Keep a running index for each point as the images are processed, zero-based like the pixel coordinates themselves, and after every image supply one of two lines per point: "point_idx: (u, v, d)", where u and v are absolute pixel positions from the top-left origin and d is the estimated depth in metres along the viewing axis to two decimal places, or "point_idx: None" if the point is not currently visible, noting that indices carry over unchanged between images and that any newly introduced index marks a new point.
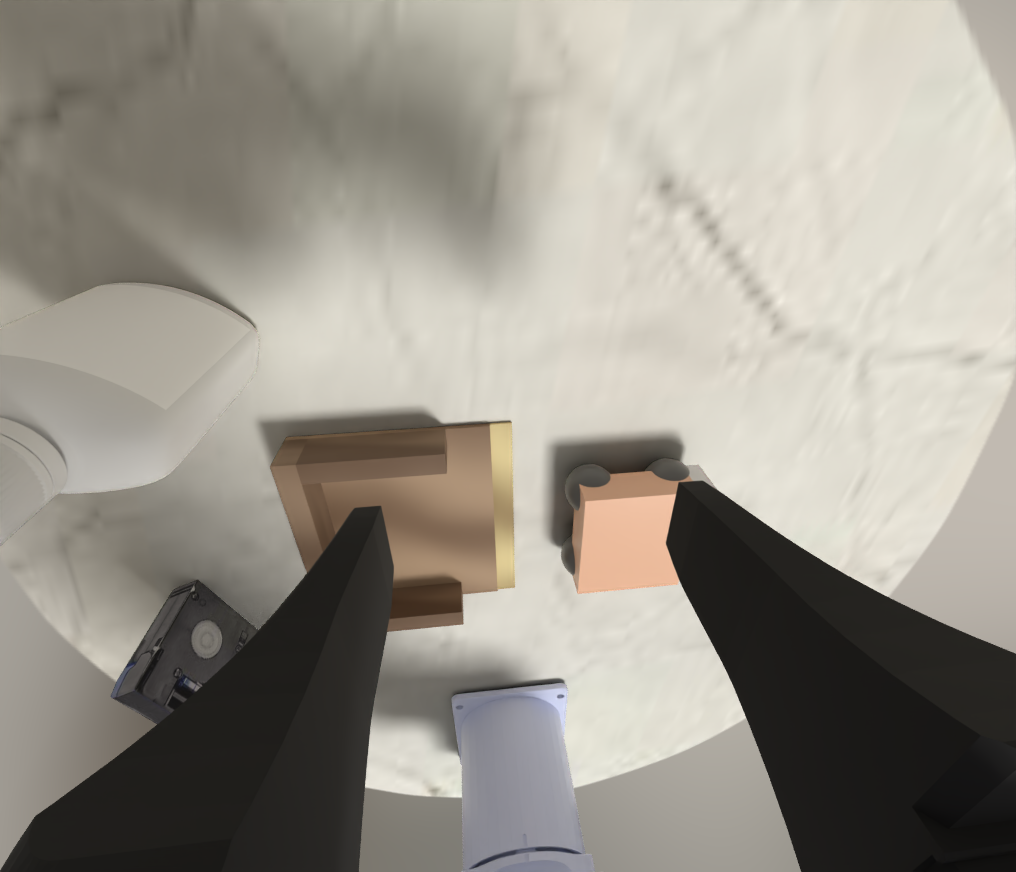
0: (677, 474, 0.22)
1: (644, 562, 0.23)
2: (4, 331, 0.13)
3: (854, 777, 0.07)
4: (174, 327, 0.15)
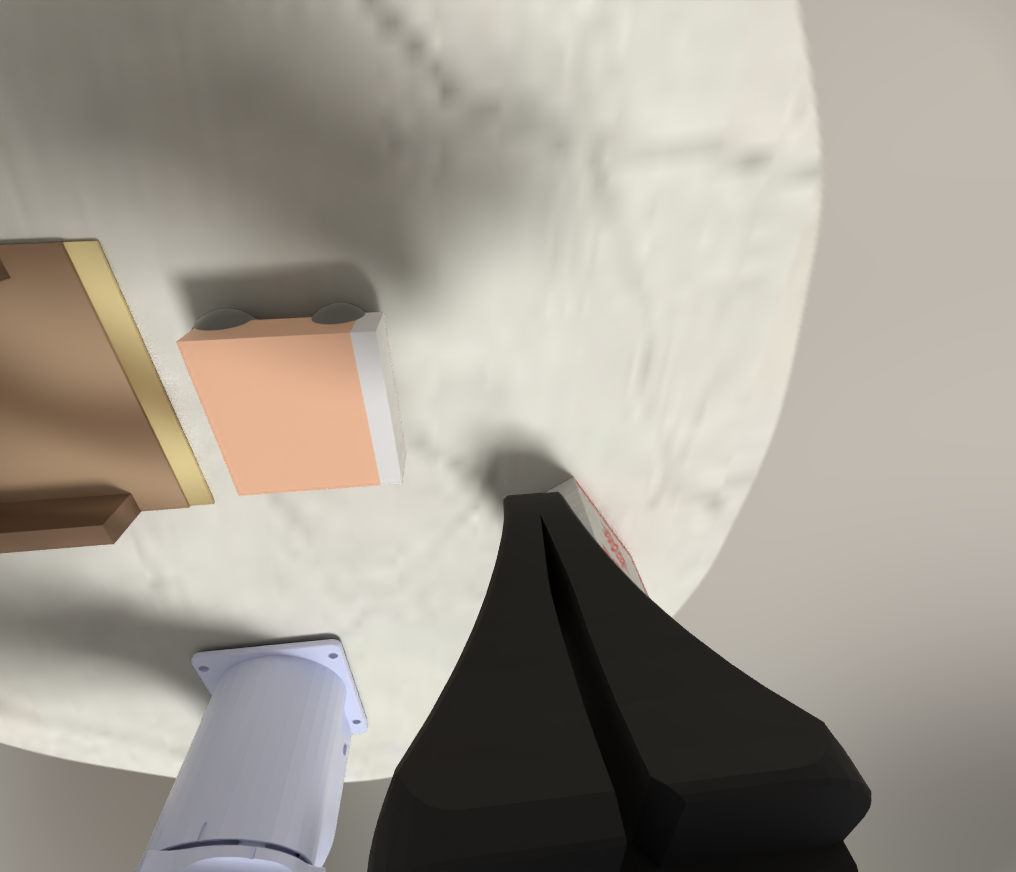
0: (336, 316, 0.16)
1: (315, 448, 0.17)
2: None
3: None
4: None
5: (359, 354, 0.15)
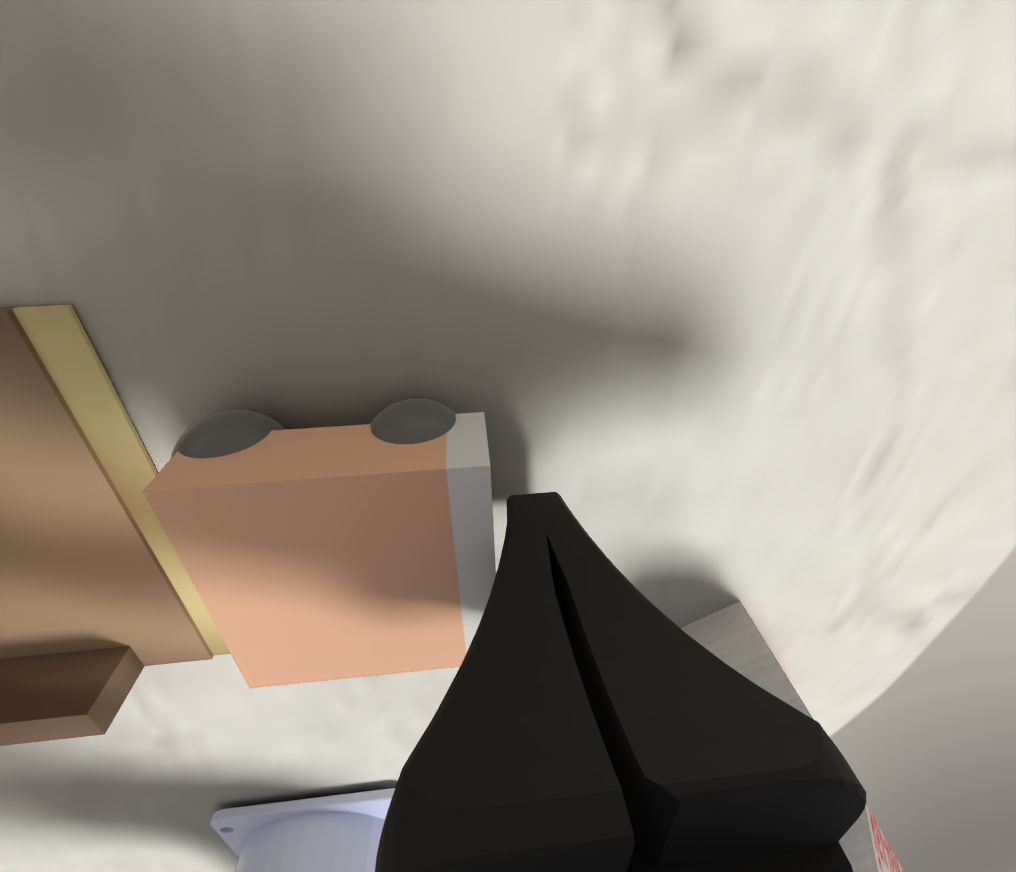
0: (414, 429, 0.09)
1: (372, 626, 0.11)
2: None
3: None
4: None
5: (457, 500, 0.09)
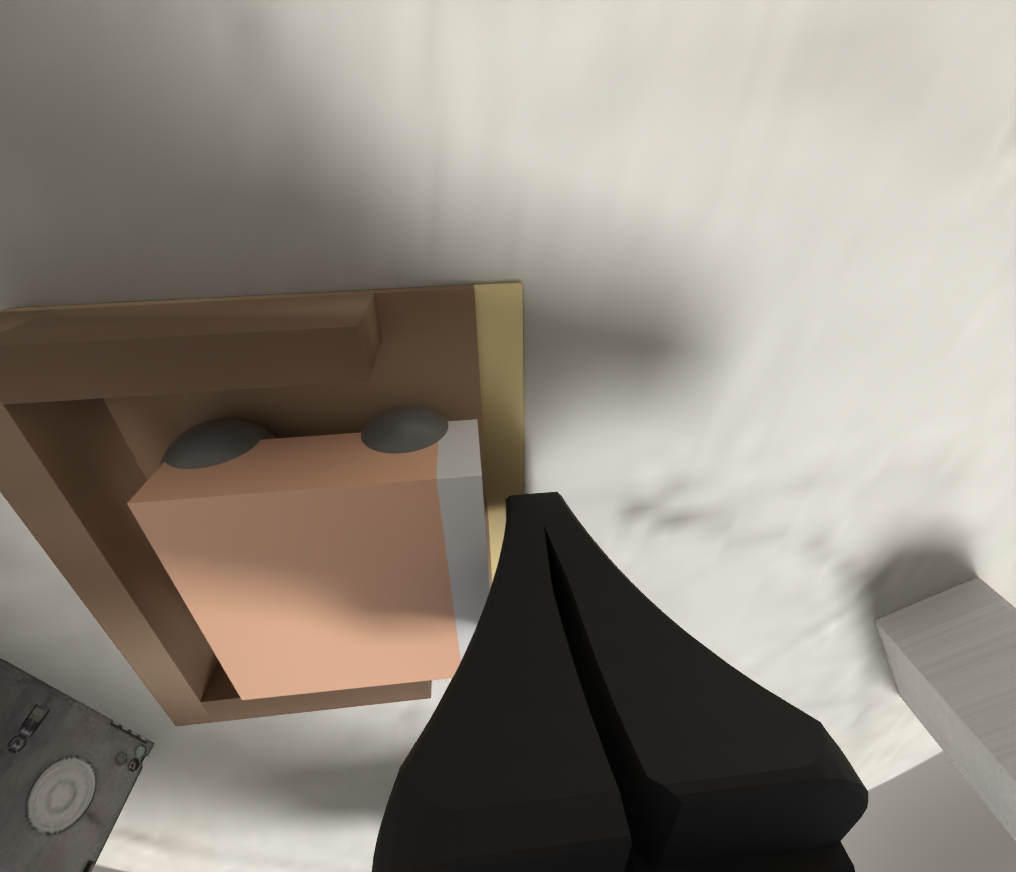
0: (405, 438, 0.09)
1: (364, 637, 0.10)
2: None
3: None
4: None
5: (448, 511, 0.09)
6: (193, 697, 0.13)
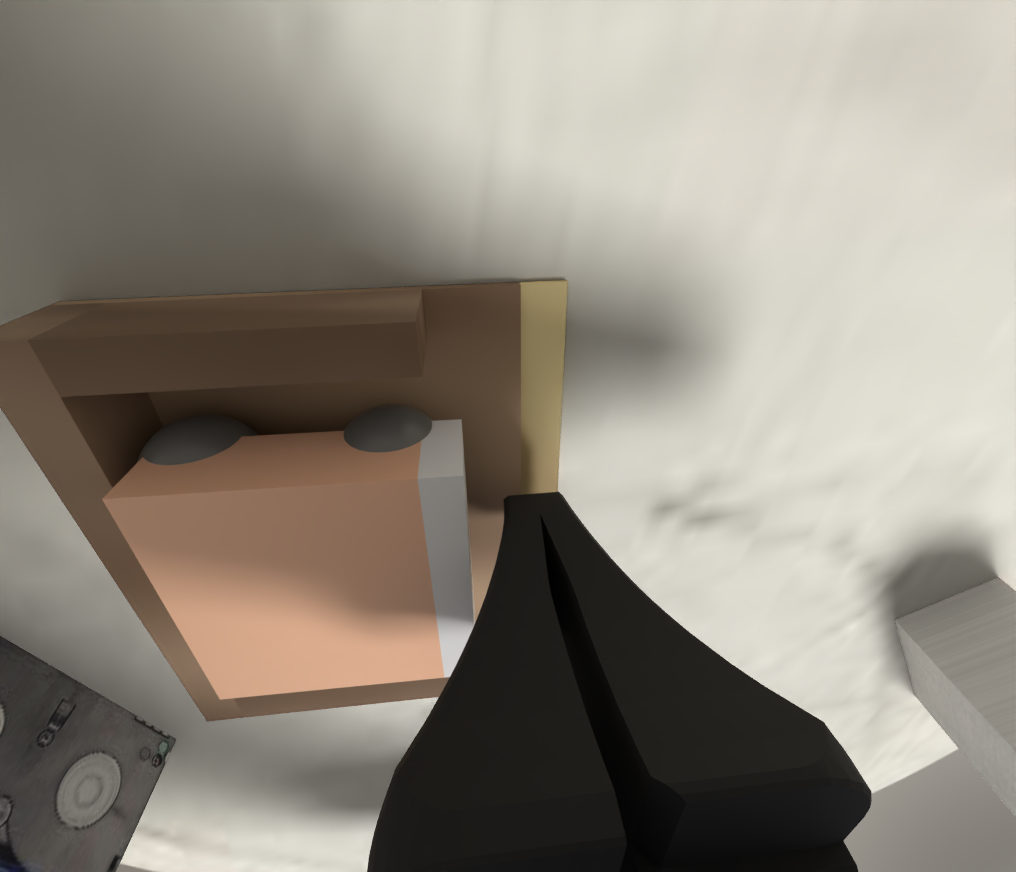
0: (387, 437, 0.09)
1: (345, 637, 0.10)
2: None
3: None
4: None
5: (430, 511, 0.09)
6: None
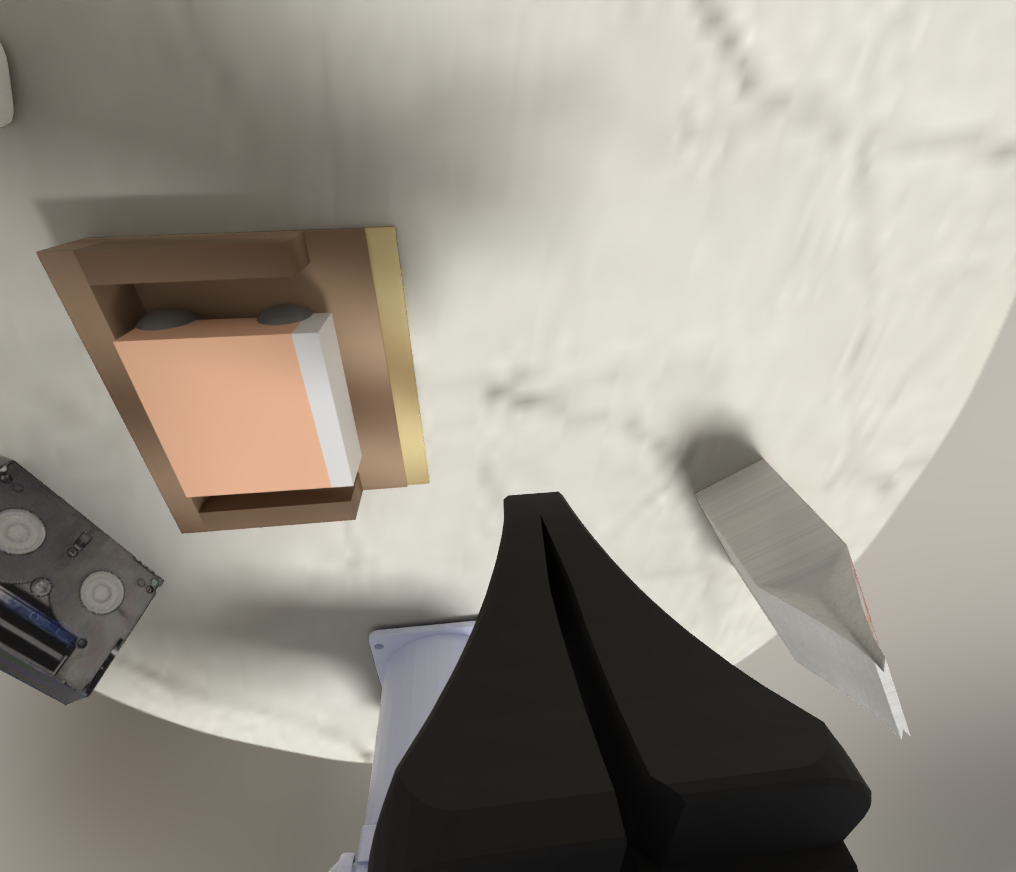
0: (280, 317, 0.16)
1: (262, 449, 0.17)
2: None
3: None
4: None
5: (301, 356, 0.15)
6: (193, 508, 0.19)
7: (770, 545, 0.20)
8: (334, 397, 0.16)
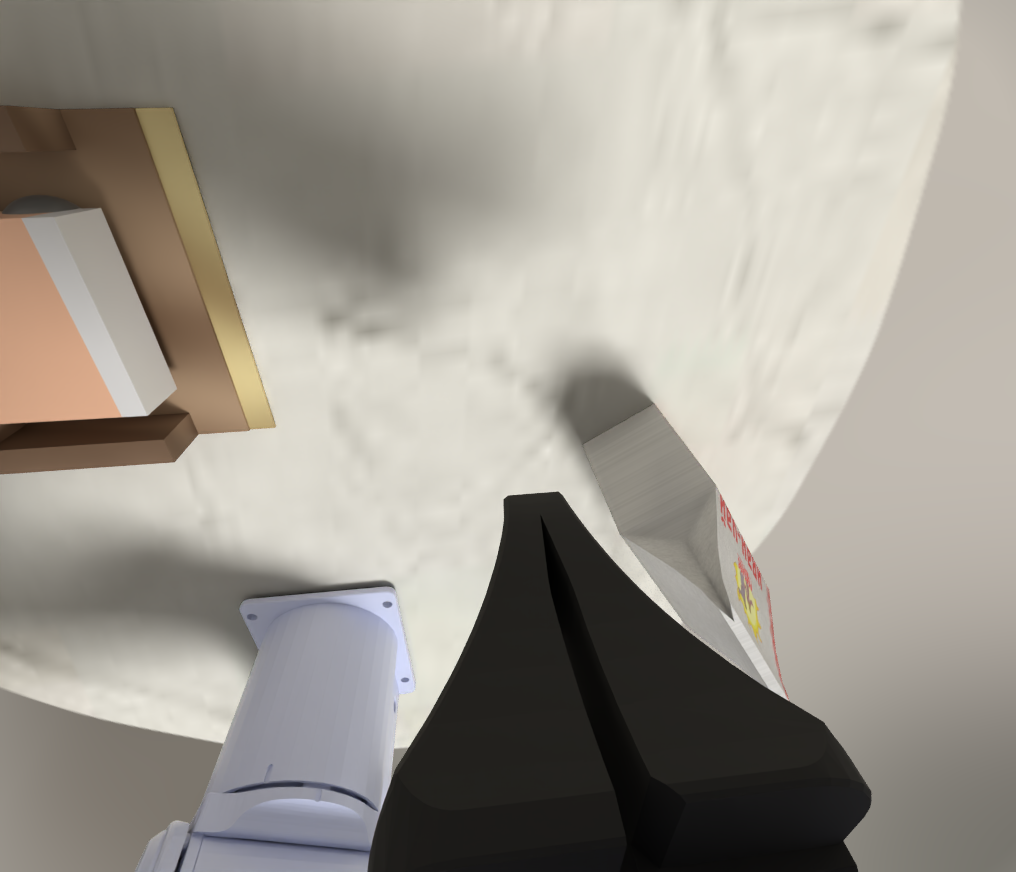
0: (25, 206, 0.13)
1: (26, 368, 0.15)
2: None
3: None
4: None
5: (41, 248, 0.13)
6: None
7: (642, 490, 0.18)
8: (99, 303, 0.14)
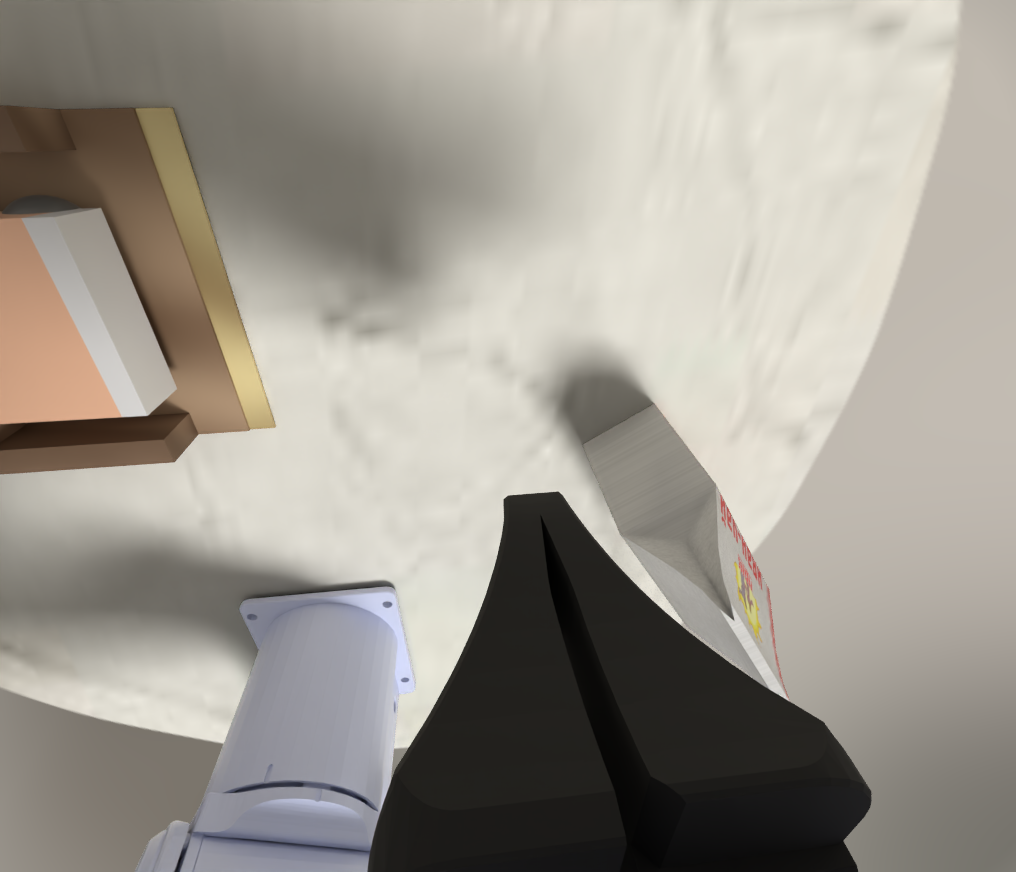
0: (25, 206, 0.13)
1: (26, 368, 0.15)
2: None
3: None
4: None
5: (41, 248, 0.13)
6: None
7: (642, 491, 0.18)
8: (99, 303, 0.14)
